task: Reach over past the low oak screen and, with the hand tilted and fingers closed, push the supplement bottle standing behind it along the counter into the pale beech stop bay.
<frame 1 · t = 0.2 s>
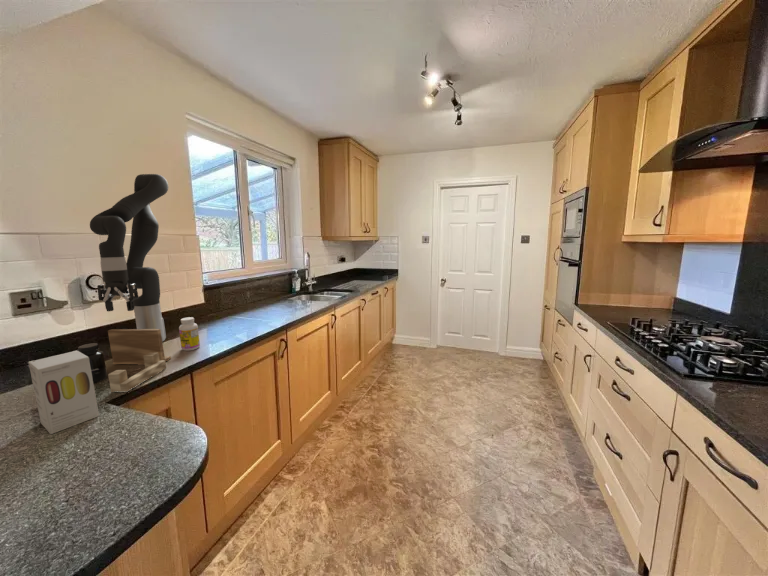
hand: (120, 310, 121), 18 cm above the worktop, tool pointing down, fingers open, 8 cm apart
supplement box: (71, 420, 81), on the worktop
stop bay: (145, 379, 103), on the worktop
supplement bottle 2: (191, 348, 131), on the worktop
supplement bottle: (94, 380, 103), on the worktop
oak screen: (139, 363, 116), on the worktop
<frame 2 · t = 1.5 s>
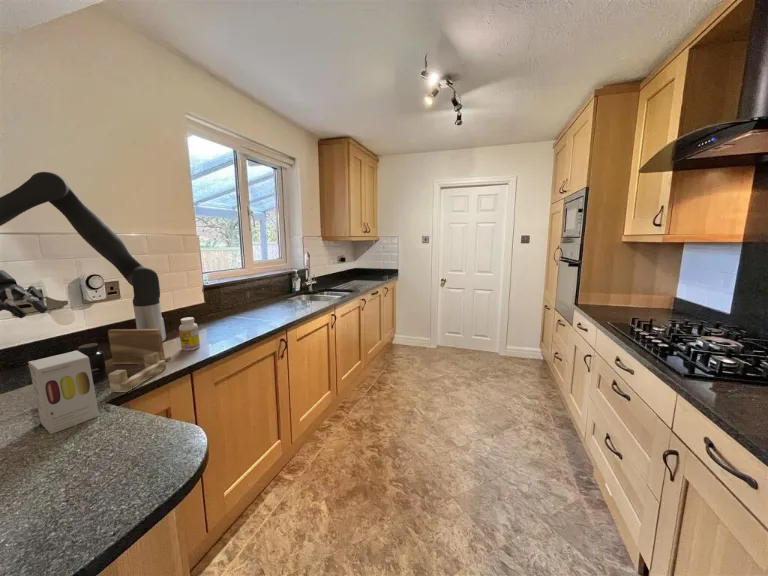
hand: (34, 313, 101), 22 cm above the worktop, tool tilted 45°, fingers open, 5 cm apart
nothing on the worktop moved.
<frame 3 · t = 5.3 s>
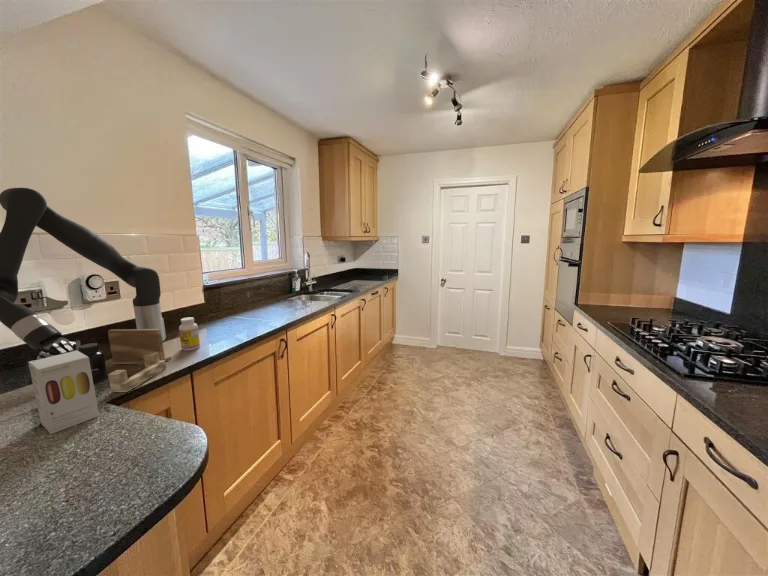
hand: (81, 367, 102), 4 cm above the worktop, tool tilted 45°, fingers closed
supplement bottle: (94, 380, 103), on the worktop, touching gripper
everything else where it was.
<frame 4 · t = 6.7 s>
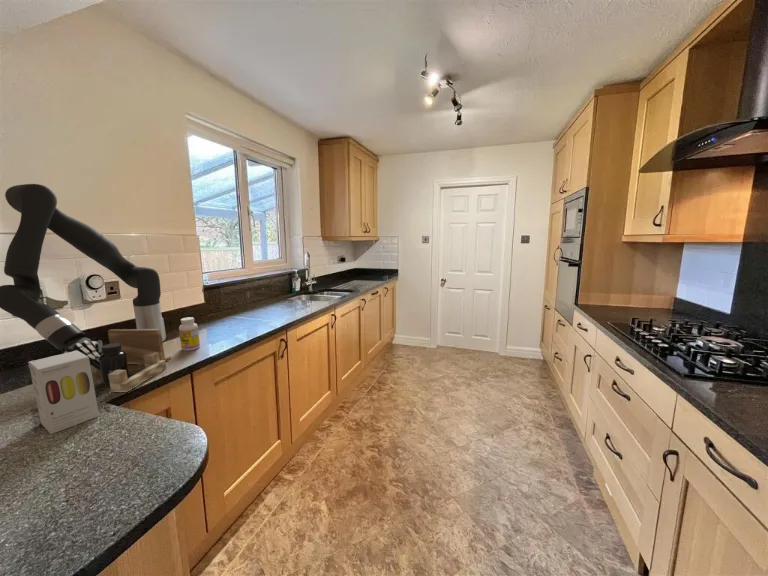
hand: (104, 367, 102), 4 cm above the worktop, tool tilted 45°, fingers closed
supplement bottle: (116, 380, 103), on the worktop, touching gripper
everything else where it was.
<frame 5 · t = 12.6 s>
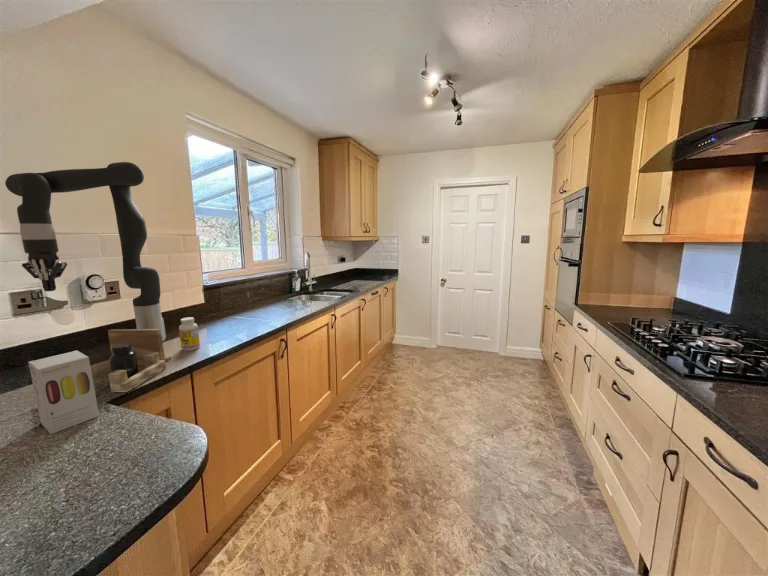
hand: (50, 290, 104), 29 cm above the worktop, tool pointing down, fingers closed
supplement bottle: (126, 380, 103), on the worktop
everything else where it was.
at the end: supplement bottle inside the target area (0.8 cm from its centre), on the worktop; supplement bottle tilted 0°; supplement bottle moved 11.0 cm from its start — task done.
